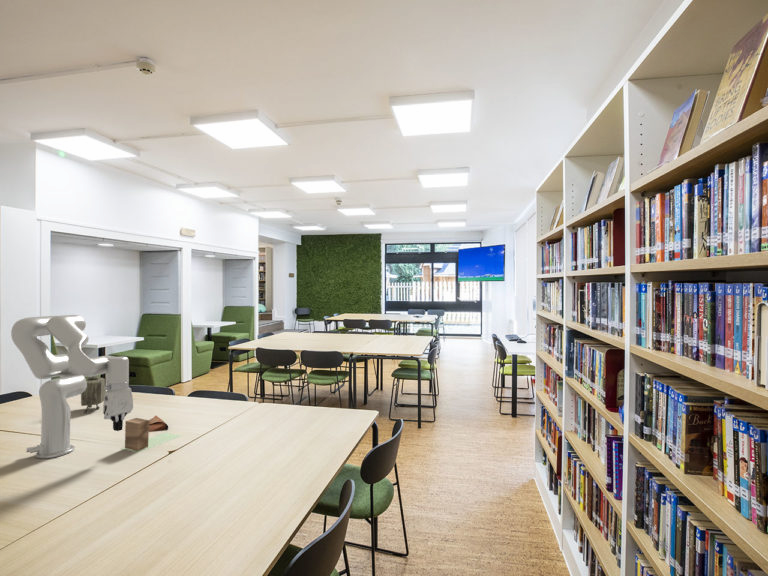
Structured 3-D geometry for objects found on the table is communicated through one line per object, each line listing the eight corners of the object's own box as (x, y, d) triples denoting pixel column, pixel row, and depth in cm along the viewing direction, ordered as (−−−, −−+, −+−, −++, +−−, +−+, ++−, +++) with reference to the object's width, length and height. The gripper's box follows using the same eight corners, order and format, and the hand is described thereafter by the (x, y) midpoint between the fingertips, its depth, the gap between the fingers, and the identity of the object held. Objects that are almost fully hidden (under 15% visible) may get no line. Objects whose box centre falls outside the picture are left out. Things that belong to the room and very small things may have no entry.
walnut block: (137, 451, 169) (138, 423, 169) (124, 448, 172) (125, 421, 172) (148, 447, 174) (148, 420, 174) (135, 444, 177) (136, 417, 177)
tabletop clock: (87, 407, 232) (88, 364, 233) (105, 405, 236) (106, 364, 236) (80, 414, 219) (81, 369, 219) (100, 412, 223) (101, 368, 223)
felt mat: (137, 453, 168) (137, 452, 168) (120, 449, 172) (120, 448, 172) (181, 436, 188) (181, 435, 188) (164, 433, 192) (164, 432, 192)
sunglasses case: (139, 424, 204) (147, 412, 206) (152, 428, 208) (160, 416, 211) (149, 433, 191) (157, 420, 194) (163, 437, 195) (170, 424, 198)
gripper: (105, 391, 157) (105, 437, 156) (141, 383, 170) (140, 425, 170) (93, 389, 159) (93, 434, 159) (129, 381, 173) (129, 423, 173)
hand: (117, 430), depth 165 cm, fingers closed
